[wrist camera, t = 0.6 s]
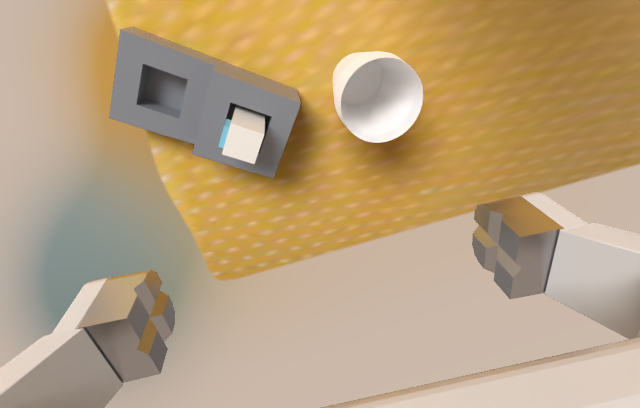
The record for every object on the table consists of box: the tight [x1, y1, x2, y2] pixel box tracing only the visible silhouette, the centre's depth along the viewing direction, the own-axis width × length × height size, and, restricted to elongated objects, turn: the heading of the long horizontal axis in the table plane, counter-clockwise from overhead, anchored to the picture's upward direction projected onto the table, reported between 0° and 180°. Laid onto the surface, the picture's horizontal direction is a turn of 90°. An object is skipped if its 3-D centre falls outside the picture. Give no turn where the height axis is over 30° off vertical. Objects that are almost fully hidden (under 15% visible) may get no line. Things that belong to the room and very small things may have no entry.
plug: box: [218, 104, 265, 164], centre depth 40 cm, size 4×4×9 cm
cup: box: [333, 51, 423, 143], centre depth 41 cm, size 9×9×12 cm
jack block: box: [109, 27, 301, 178], centre depth 42 cm, size 10×20×7 cm, turn 68°
